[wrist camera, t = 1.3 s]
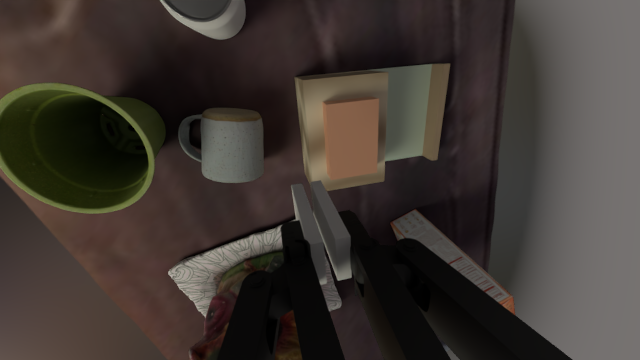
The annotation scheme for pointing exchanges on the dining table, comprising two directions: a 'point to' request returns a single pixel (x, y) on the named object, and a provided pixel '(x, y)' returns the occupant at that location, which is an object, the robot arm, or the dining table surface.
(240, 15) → the can
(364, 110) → the orange rectangular slab
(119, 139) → the plant pot
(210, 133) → the ceramic mug
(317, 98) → the beige rectangular slab
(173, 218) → the dining table surface
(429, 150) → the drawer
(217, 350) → the cookie jar
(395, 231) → the cracker box
